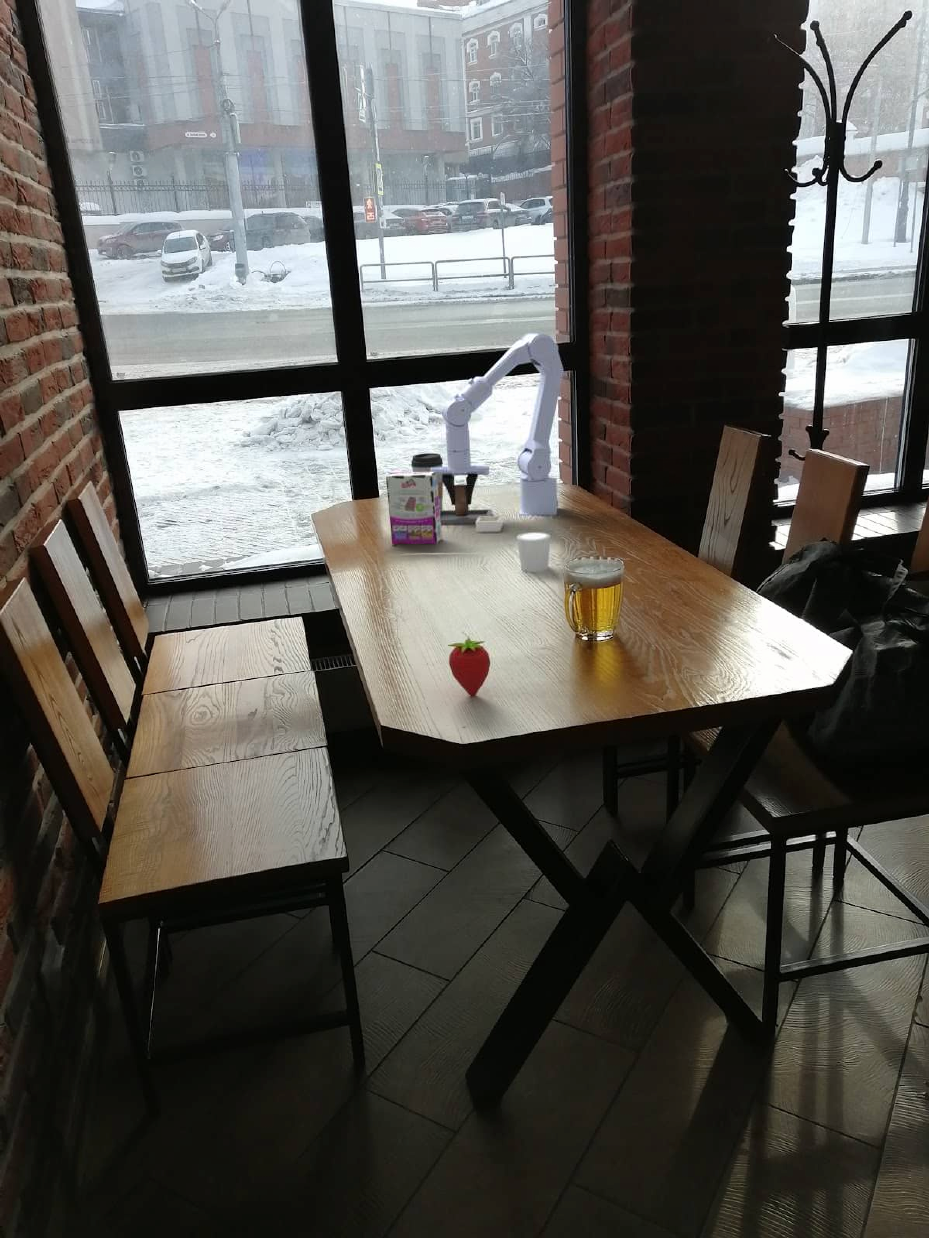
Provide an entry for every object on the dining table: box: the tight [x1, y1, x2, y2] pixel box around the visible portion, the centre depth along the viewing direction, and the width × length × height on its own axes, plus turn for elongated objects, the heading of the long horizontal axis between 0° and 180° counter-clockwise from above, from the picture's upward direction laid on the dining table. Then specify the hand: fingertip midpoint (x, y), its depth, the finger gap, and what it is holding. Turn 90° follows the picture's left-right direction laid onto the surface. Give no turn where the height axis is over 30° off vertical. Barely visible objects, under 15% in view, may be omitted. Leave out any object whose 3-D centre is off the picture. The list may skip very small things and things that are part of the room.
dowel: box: [454, 483, 470, 517], centre depth 233 cm, size 3×3×8 cm
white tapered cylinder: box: [516, 531, 551, 573], centre depth 192 cm, size 7×7×7 cm
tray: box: [440, 508, 493, 526], centre depth 235 cm, size 14×10×2 cm
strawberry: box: [447, 631, 491, 697], centre depth 134 cm, size 6×8×10 cm
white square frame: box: [475, 515, 504, 533], centre depth 224 cm, size 6×6×3 cm
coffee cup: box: [410, 452, 444, 511], centre depth 244 cm, size 8×8×15 cm
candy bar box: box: [385, 471, 443, 546], centre depth 215 cm, size 11×5×16 cm, turn 76°
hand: (461, 504), depth 234 cm, fingers closed on dowel, 3 cm apart
